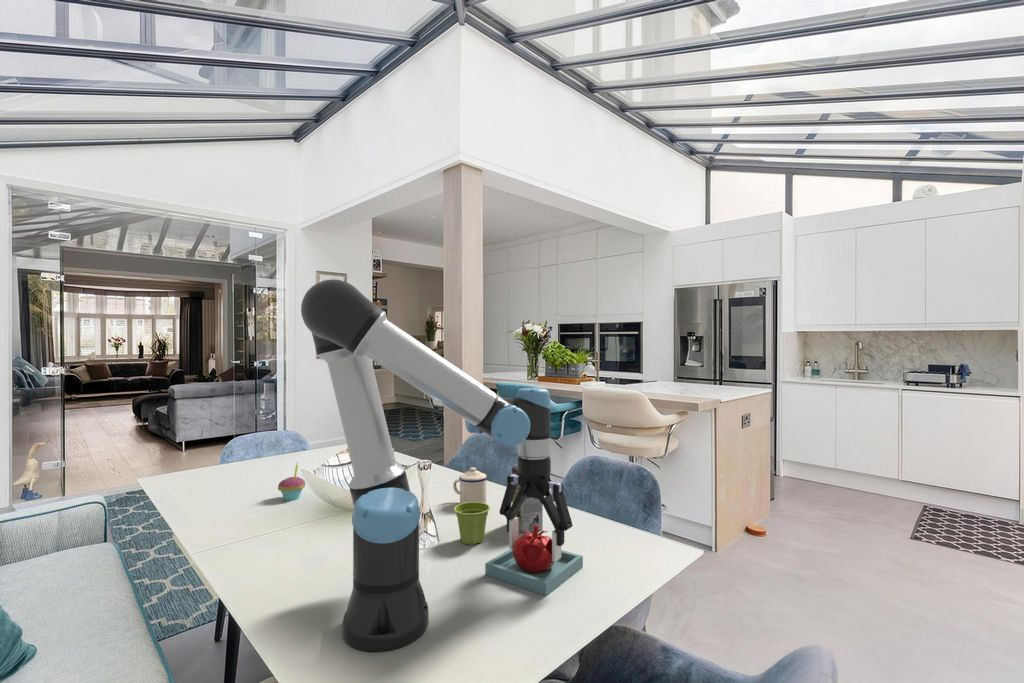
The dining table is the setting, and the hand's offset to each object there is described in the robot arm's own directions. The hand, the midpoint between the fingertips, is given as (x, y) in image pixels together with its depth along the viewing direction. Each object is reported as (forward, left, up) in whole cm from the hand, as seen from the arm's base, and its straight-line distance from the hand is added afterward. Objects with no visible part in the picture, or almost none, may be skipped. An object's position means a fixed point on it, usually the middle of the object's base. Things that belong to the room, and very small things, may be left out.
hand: (534, 552), depth 109 cm
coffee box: (+22, +17, -4) cm, 28 cm away
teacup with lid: (+28, +44, -4) cm, 52 cm away
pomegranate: (0, 0, -3) cm, 3 cm away
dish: (0, 0, -4) cm, 4 cm away
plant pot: (+5, +23, -4) cm, 24 cm away
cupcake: (-3, +97, -4) cm, 97 cm away
